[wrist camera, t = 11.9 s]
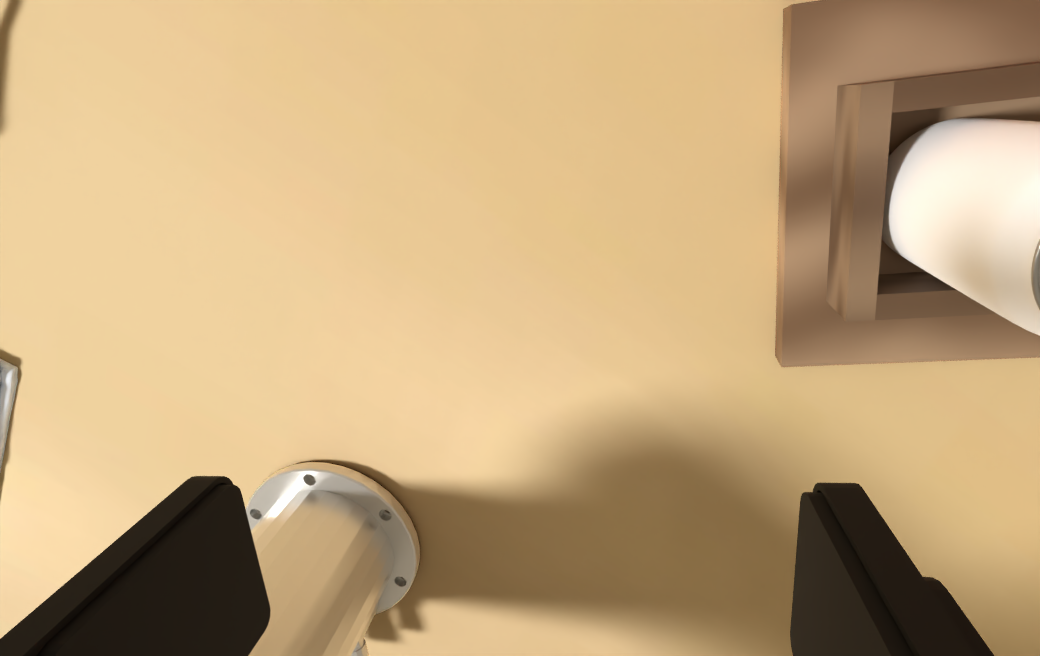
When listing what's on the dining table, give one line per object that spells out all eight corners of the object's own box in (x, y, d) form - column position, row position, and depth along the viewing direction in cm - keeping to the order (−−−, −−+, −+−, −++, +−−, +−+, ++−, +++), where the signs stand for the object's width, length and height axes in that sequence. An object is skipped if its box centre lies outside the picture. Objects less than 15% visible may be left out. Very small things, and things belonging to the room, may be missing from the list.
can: (1060, 181, 27) (1362, 242, 16) (934, 288, 29) (1117, 406, 18) (956, 84, 26) (1193, 77, 15) (835, 202, 29) (963, 269, 18)
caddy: (1072, 343, 30) (1142, 382, 26) (775, 355, 33) (795, 392, 29) (1150, -45, 25) (1255, -73, 21) (783, 9, 28) (810, -7, 23)
